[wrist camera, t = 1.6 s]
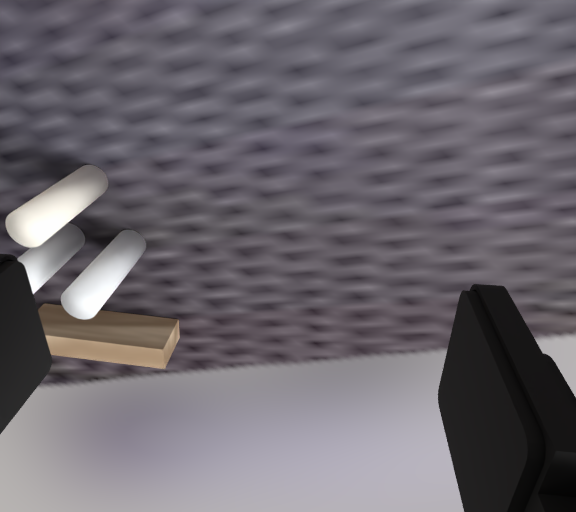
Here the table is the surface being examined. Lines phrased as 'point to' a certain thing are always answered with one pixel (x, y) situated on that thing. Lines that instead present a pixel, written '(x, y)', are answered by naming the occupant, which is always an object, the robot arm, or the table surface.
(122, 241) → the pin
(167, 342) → the back wall
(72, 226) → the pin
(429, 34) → the table surface
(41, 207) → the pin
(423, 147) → the table surface
